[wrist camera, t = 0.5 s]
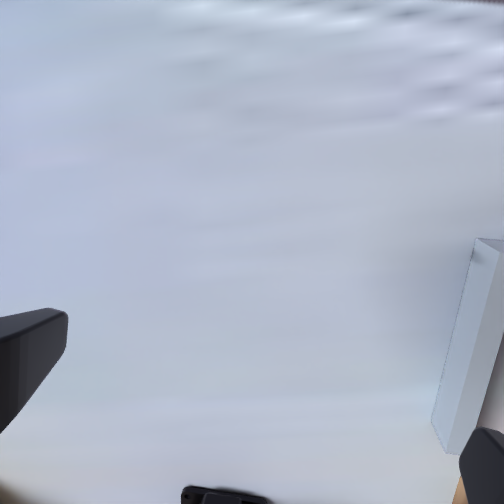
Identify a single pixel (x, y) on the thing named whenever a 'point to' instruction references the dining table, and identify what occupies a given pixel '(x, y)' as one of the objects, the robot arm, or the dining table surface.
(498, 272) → the white angled frame
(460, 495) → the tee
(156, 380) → the dining table surface
